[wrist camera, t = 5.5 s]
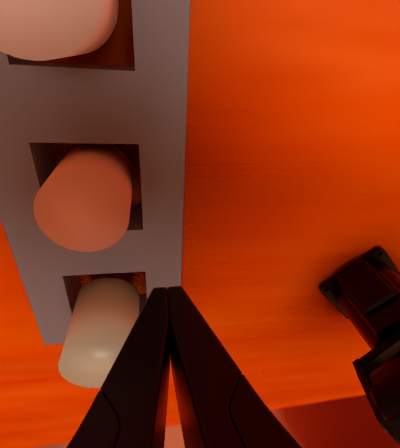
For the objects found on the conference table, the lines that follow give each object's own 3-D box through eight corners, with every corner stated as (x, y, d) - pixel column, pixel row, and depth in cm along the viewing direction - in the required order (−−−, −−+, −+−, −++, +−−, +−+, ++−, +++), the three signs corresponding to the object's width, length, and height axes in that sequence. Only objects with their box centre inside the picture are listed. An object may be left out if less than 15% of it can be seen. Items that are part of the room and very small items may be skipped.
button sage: (152, 296, 21) (153, 361, 17) (113, 327, 22) (104, 395, 18) (104, 267, 19) (91, 331, 15) (64, 302, 20) (41, 372, 16)
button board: (176, 304, 26) (179, 333, 23) (55, 313, 24) (44, 345, 21) (185, -104, 12) (194, -141, 10) (-79, -144, 11) (-147, -200, 8)
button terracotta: (148, 174, 18) (147, 214, 14) (104, 216, 19) (91, 265, 15) (91, 124, 16) (72, 153, 12) (46, 174, 17) (13, 217, 13)
